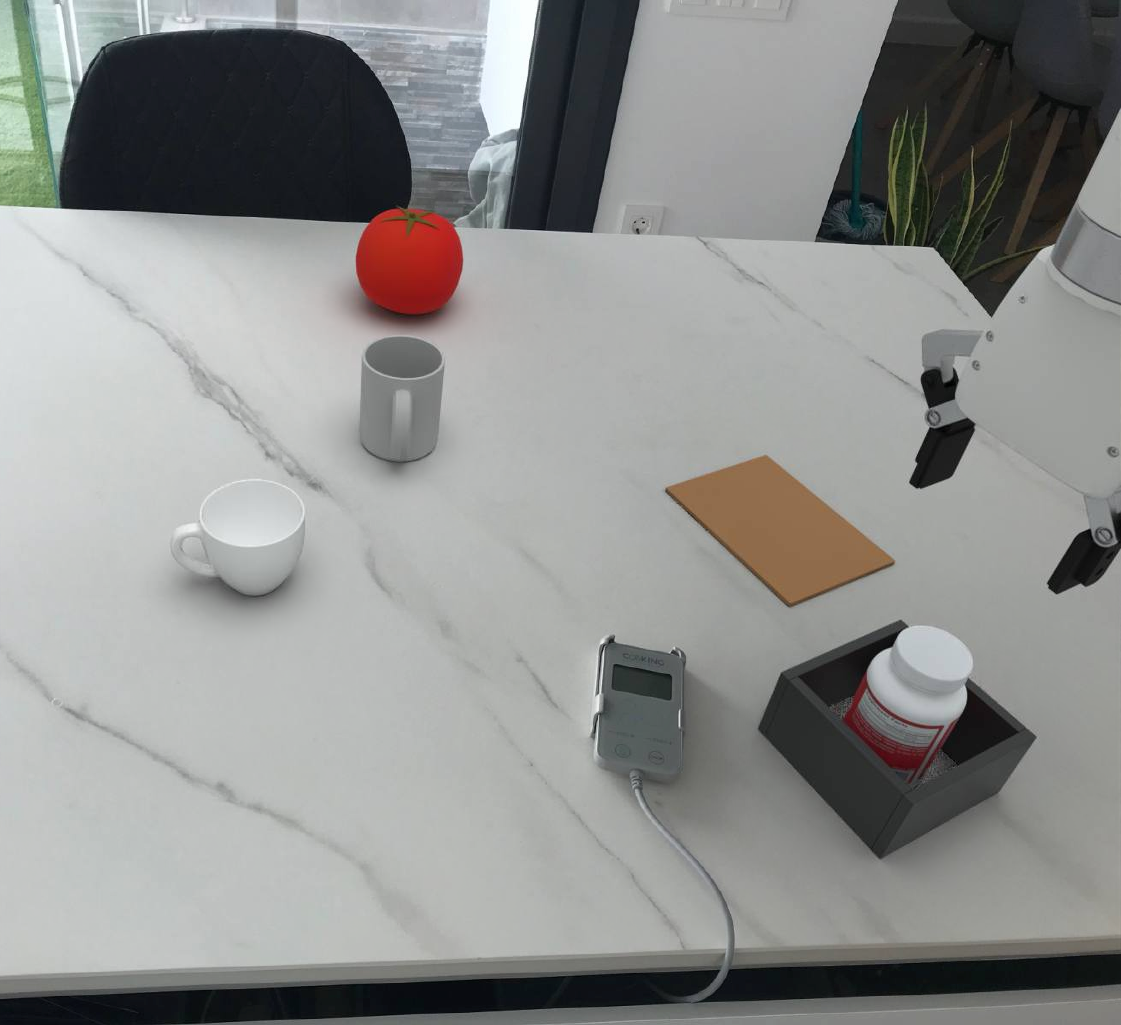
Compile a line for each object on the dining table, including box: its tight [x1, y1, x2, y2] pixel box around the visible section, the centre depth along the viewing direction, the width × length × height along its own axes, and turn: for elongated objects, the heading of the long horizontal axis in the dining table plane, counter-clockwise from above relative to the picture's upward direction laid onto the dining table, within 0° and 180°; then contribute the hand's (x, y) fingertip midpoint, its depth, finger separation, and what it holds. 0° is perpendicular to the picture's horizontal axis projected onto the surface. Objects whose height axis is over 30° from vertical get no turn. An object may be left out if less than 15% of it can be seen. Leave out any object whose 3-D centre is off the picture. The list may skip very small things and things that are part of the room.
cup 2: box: [358, 334, 446, 463], centre depth 95 cm, size 7×10×9 cm
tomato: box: [355, 205, 464, 315], centre depth 115 cm, size 11×12×10 cm
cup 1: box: [170, 478, 306, 597], centre depth 82 cm, size 8×10×7 cm
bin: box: [757, 619, 1038, 860], centre depth 73 cm, size 12×12×6 cm
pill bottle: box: [841, 624, 974, 790], centre depth 71 cm, size 6×6×11 cm
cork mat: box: [664, 454, 896, 607], centre depth 93 cm, size 16×12×1 cm
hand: (995, 529), depth 62 cm, fingers open, 9 cm apart
